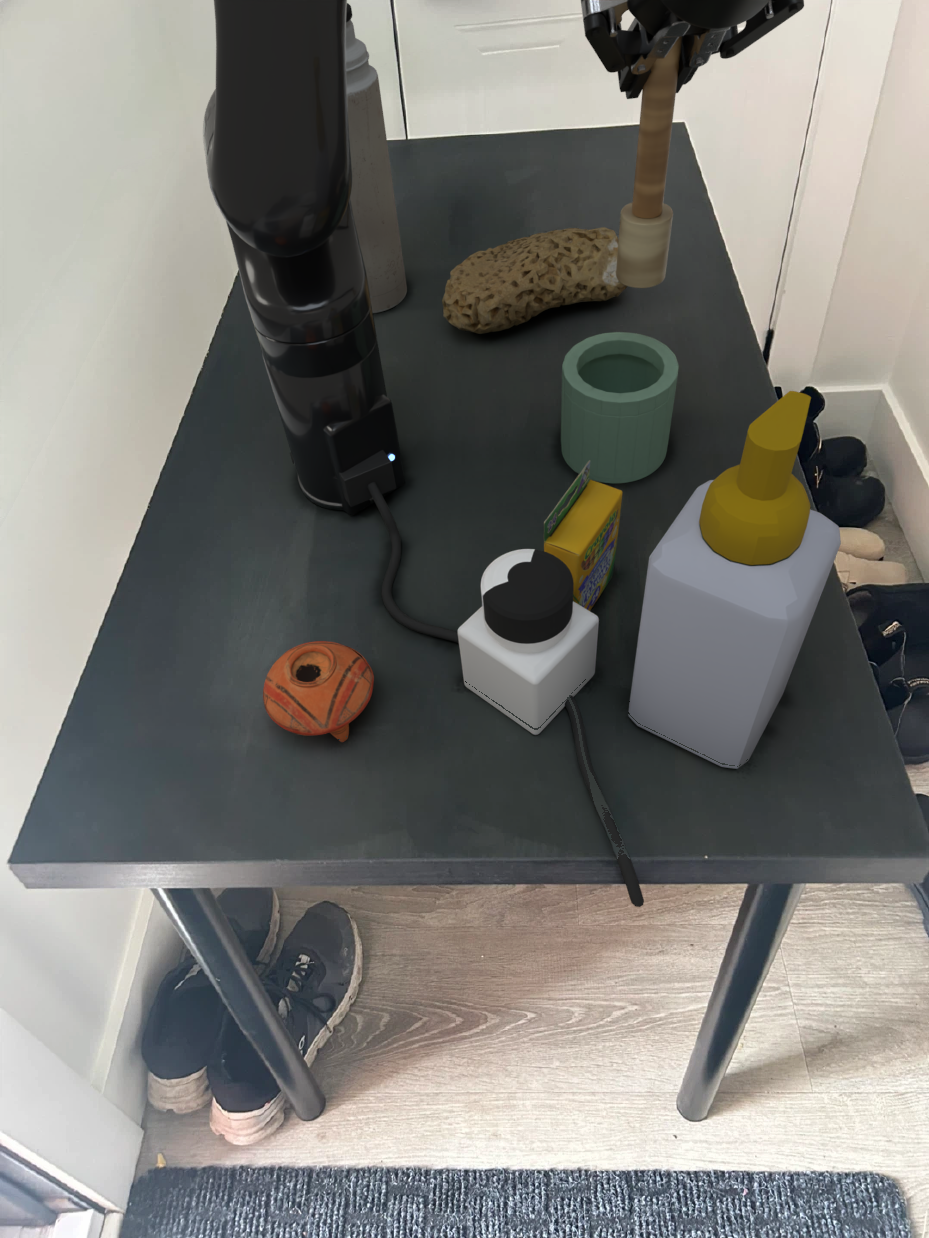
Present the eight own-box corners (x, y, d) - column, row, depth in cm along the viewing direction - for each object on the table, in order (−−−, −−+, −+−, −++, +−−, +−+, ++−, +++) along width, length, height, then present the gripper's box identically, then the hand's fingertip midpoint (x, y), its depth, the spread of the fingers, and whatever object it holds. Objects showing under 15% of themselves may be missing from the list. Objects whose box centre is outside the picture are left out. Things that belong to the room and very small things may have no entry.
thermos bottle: (344, 275, 103) (289, -7, 81) (411, 274, 102) (374, -11, 80) (331, 314, 98) (268, 26, 76) (401, 314, 97) (359, 22, 75)
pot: (271, 771, 63) (245, 702, 58) (282, 696, 69) (259, 629, 65) (383, 756, 62) (364, 686, 58) (383, 682, 69) (366, 614, 64)
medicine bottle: (596, 674, 66) (605, 569, 57) (536, 738, 63) (535, 638, 54) (522, 627, 69) (519, 520, 60) (462, 686, 66) (448, 583, 57)
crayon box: (574, 641, 68) (579, 538, 59) (540, 626, 69) (540, 523, 60) (615, 577, 72) (626, 471, 63) (582, 564, 73) (588, 458, 64)
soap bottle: (787, 685, 64) (894, 409, 45) (738, 780, 60) (833, 521, 40) (674, 636, 68) (726, 359, 48) (619, 722, 64) (653, 457, 44)
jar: (688, 448, 81) (702, 365, 74) (613, 499, 77) (621, 418, 70) (613, 400, 86) (619, 318, 78) (539, 446, 82) (539, 365, 75)
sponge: (600, 270, 102) (429, 261, 98) (621, 210, 95) (438, 198, 91) (623, 354, 96) (441, 348, 92) (647, 297, 89) (453, 288, 85)
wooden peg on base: (659, 291, 67) (690, 35, 54) (610, 284, 68) (628, 31, 55) (670, 266, 69) (702, 14, 56) (622, 260, 70) (643, 11, 57)
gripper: (875, -200, 43) (741, 13, 60) (595, -170, 42) (541, 36, 60) (890, -38, 44) (754, 127, 61) (615, -6, 43) (556, 151, 60)
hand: (649, 81), depth 60 cm, fingers closed on wooden peg on base, 2 cm apart
